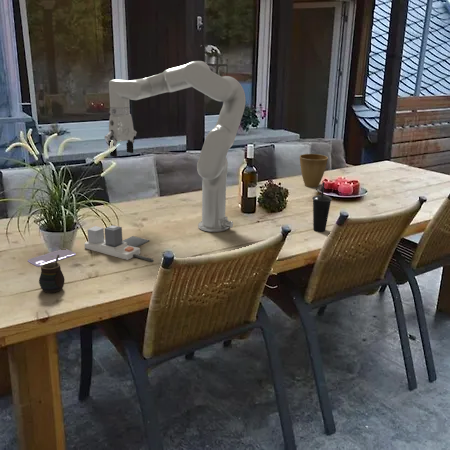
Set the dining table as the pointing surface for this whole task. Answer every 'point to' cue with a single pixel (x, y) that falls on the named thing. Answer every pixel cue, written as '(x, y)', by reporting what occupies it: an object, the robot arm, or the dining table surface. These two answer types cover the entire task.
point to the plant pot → (312, 168)
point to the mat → (135, 241)
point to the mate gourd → (51, 277)
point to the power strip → (121, 251)
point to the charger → (113, 236)
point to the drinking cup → (320, 211)
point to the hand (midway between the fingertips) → (122, 154)
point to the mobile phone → (51, 257)
